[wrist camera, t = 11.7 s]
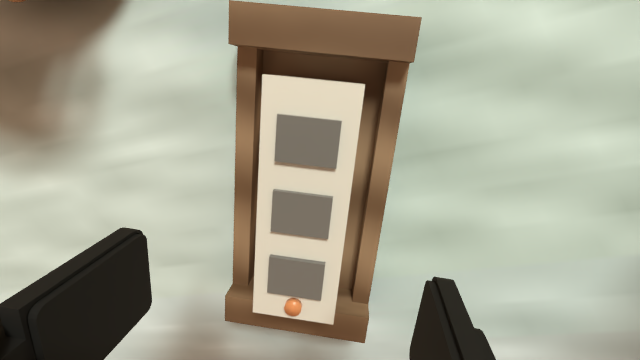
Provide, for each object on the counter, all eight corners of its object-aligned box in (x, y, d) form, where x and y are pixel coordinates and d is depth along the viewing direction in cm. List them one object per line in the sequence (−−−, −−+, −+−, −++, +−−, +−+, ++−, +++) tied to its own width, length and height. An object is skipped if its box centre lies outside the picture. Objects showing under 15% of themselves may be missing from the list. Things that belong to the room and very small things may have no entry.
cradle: (250, 13, 21) (229, 0, 18) (410, 28, 21) (421, 17, 17) (242, 289, 28) (225, 320, 24) (363, 308, 27) (364, 343, 23)
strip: (287, 75, 21) (260, 74, 15) (362, 83, 21) (365, 84, 15) (275, 260, 26) (250, 316, 20) (338, 269, 25) (332, 329, 19)
